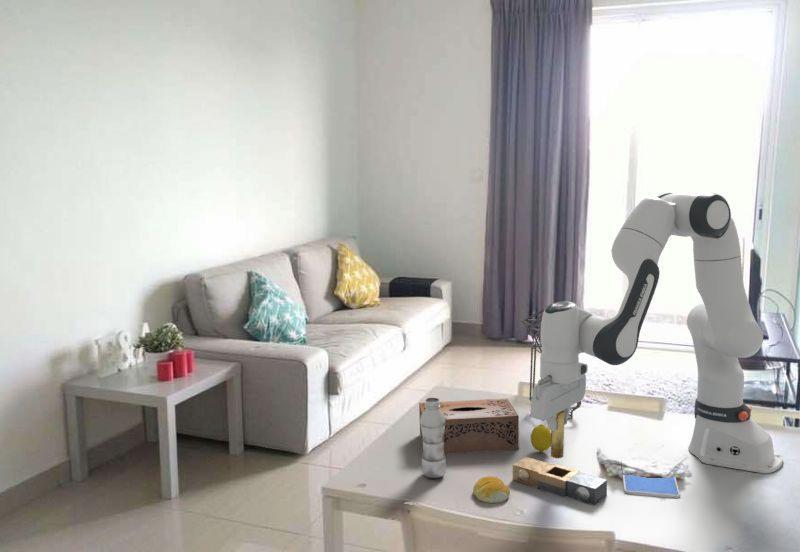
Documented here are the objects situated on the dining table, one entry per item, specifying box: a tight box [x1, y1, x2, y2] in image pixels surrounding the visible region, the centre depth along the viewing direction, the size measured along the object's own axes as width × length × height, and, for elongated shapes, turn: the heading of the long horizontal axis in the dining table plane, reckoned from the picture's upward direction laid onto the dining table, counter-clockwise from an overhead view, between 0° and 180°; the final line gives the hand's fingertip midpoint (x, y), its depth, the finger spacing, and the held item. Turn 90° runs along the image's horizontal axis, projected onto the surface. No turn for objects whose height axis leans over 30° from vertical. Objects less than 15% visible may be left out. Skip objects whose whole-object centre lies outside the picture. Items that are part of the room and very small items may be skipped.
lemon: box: [530, 423, 551, 453], centre depth 197 cm, size 6×6×8 cm
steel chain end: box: [537, 471, 608, 506], centre depth 174 cm, size 15×7×4 cm, turn 49°
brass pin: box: [550, 411, 565, 459], centre depth 174 cm, size 3×3×11 cm
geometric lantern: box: [520, 308, 582, 421], centre depth 221 cm, size 16×16×35 cm
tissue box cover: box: [418, 397, 520, 454], centre depth 205 cm, size 26×14×10 cm, turn 94°
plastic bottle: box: [419, 397, 448, 479], centre depth 184 cm, size 6×7×20 cm
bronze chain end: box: [512, 456, 581, 489], centre depth 179 cm, size 15×7×4 cm, turn 49°
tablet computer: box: [622, 474, 681, 499], centre depth 180 cm, size 19×13×1 cm, turn 165°
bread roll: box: [472, 475, 511, 504], centre depth 174 cm, size 8×9×4 cm
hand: (557, 427), depth 174 cm, fingers closed on brass pin, 3 cm apart
